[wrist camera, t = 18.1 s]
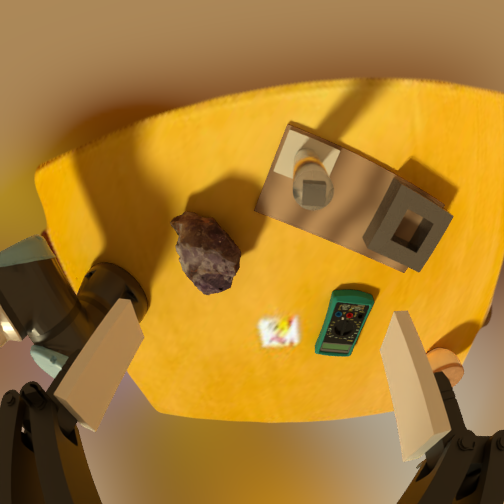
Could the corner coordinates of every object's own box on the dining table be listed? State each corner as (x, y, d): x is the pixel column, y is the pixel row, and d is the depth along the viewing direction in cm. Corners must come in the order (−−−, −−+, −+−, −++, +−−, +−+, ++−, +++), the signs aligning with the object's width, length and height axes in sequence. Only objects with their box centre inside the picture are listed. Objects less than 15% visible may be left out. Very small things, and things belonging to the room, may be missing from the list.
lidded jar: (413, 350, 49) (423, 384, 41) (455, 334, 45) (470, 365, 37) (413, 375, 53) (420, 407, 45) (451, 361, 50) (462, 391, 42)
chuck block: (362, 237, 38) (367, 248, 35) (393, 177, 33) (401, 184, 30) (412, 260, 39) (419, 272, 36) (443, 207, 34) (453, 216, 31)
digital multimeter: (373, 290, 44) (377, 301, 41) (348, 348, 51) (350, 359, 48) (333, 285, 44) (334, 296, 42) (313, 345, 52) (314, 356, 49)
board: (254, 209, 40) (254, 210, 39) (287, 124, 33) (287, 124, 33) (403, 271, 41) (404, 273, 40) (443, 203, 34) (444, 204, 34)
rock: (204, 268, 48) (258, 255, 44) (190, 306, 41) (252, 294, 38) (169, 213, 41) (227, 192, 38) (147, 246, 35) (213, 225, 31)
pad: (273, 170, 36) (273, 171, 35) (289, 129, 33) (289, 129, 32) (322, 189, 36) (322, 191, 36) (339, 150, 33) (340, 151, 33)
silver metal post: (293, 147, 33) (293, 172, 20) (320, 148, 33) (337, 175, 20) (293, 172, 35) (291, 214, 22) (319, 174, 35) (333, 217, 21)
